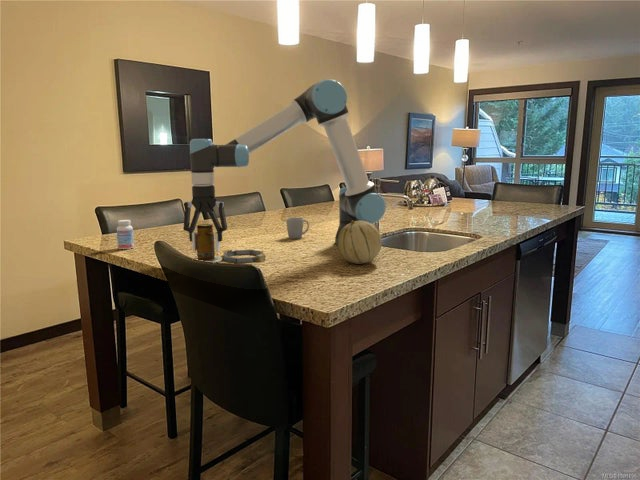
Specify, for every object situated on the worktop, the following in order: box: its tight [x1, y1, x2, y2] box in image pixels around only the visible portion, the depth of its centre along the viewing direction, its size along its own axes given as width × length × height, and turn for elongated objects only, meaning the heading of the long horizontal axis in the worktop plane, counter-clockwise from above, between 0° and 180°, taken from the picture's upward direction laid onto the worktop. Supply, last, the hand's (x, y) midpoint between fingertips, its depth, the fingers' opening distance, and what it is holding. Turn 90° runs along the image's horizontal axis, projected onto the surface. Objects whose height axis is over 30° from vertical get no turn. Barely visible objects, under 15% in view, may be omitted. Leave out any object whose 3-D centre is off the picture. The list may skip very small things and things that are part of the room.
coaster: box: [203, 255, 223, 263], centre depth 168 cm, size 10×10×1 cm
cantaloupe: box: [337, 221, 383, 265], centre depth 161 cm, size 15×15×15 cm
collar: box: [223, 248, 266, 264], centre depth 171 cm, size 18×14×2 cm
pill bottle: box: [116, 219, 135, 251], centre depth 189 cm, size 6×6×11 cm
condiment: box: [193, 223, 224, 261], centre depth 167 cm, size 7×8×12 cm
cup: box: [285, 216, 310, 240], centre depth 209 cm, size 8×10×8 cm
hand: (206, 250), depth 167 cm, fingers open, 7 cm apart
